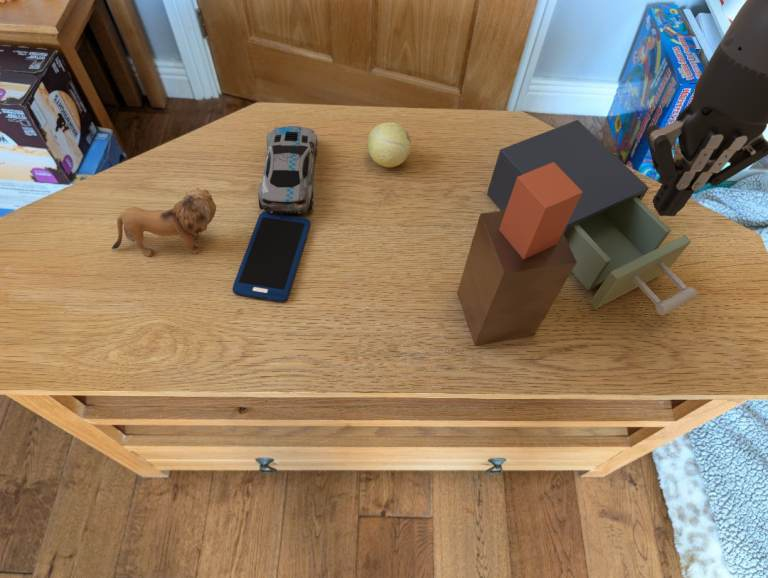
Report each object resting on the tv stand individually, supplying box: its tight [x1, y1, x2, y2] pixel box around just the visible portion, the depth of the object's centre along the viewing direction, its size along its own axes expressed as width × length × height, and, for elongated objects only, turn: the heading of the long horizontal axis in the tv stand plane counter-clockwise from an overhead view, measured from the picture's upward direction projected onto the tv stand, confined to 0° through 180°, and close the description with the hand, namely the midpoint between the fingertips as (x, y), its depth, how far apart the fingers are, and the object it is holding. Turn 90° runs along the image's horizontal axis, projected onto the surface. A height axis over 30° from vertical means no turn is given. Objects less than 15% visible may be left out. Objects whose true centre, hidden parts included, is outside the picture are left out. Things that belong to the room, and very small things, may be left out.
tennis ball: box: [365, 121, 412, 168], centre depth 83 cm, size 6×7×7 cm
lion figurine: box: [111, 187, 217, 258], centre depth 72 cm, size 15×5×9 cm, turn 103°
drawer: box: [566, 197, 698, 316], centre depth 73 cm, size 19×12×7 cm, turn 29°
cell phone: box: [231, 211, 311, 303], centre depth 75 cm, size 7×14×1 cm, turn 171°
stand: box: [456, 210, 577, 346], centre depth 65 cm, size 8×8×16 cm
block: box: [499, 162, 583, 260], centre depth 55 cm, size 4×4×8 cm
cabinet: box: [486, 119, 650, 238], centre depth 78 cm, size 15×14×9 cm
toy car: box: [257, 125, 318, 215], centre depth 81 cm, size 8×17×5 cm, turn 1°
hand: (663, 211), depth 60 cm, fingers closed
